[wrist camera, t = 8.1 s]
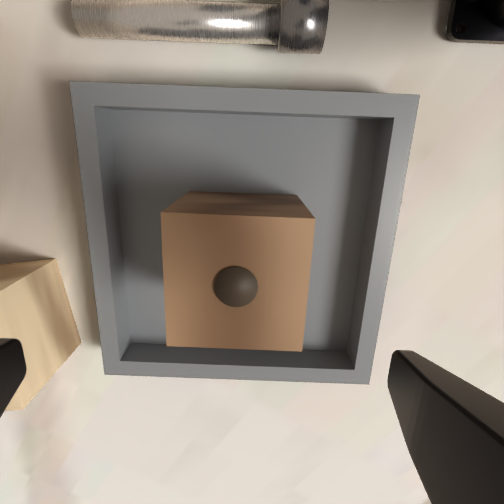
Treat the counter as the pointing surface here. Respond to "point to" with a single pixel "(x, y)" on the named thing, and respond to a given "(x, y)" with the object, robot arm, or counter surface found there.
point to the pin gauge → (207, 22)
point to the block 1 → (36, 322)
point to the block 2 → (236, 270)
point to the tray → (242, 181)
